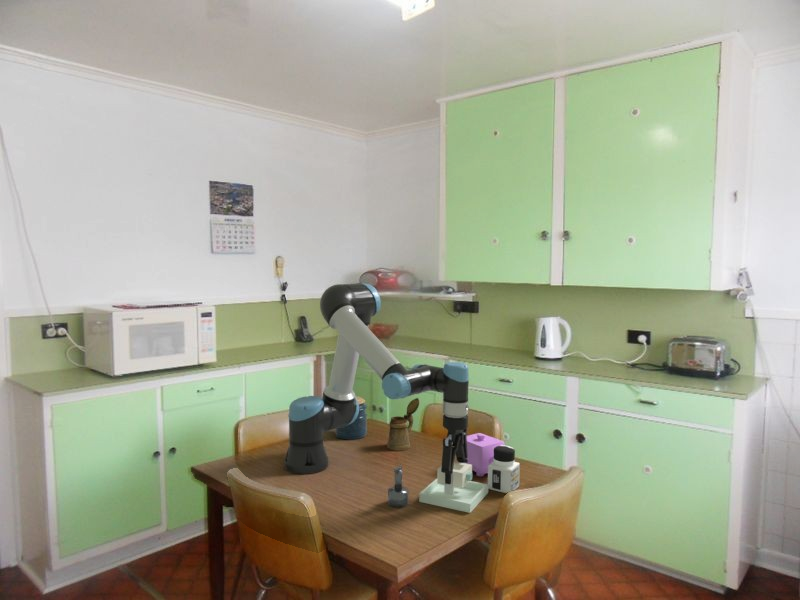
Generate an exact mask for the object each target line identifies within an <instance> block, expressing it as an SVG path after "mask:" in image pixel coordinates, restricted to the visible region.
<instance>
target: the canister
mask: <svg viewBox="0 0 800 600" xmlns="http://www.w3.org/2000/svg"><path fill="white" fill-rule="evenodd" d="M355 397H356V398H357V400H358V403H357V404H359V413H358V416H357V418H356V420H355V421H354V422H353V423H351V424H349V425H347V426H345V427H341V428H337V429H334V433H335V437H337V438H338V439H342V440H359V439H363V438H365V437H366V436H367V433H368V425H367V423H368V419H367V418H368V413H367V408H368V406H367V404H365V403H366V400H365V398H362V397H361V396H357V395H355Z"/></svg>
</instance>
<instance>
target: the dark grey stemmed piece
mask: <svg viewBox="0 0 800 600" xmlns="http://www.w3.org/2000/svg"><path fill="white" fill-rule="evenodd" d="M393 470H394V471H393V473H394V486H391V487H389V488H388V489H387V504H388V506H390V507H391V508H395V509H398V508H399V509H401V508H405V507H407V506H408V505H409V489H408V488H407V487H405V486H403V466H402V465H398V466H397V467H395V468H394V469H393Z"/></svg>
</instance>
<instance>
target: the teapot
mask: <svg viewBox="0 0 800 600" xmlns="http://www.w3.org/2000/svg"><path fill="white" fill-rule="evenodd" d="M501 445H505V441H503V440H501V439H498V438H496V437H492V436H490V435H487V434H484V433H481V432H478V433H477V432H476V433H473V434H469V435H467V455H468V457H467V460H468V462H467V463H466V464H471V465H472V472H475V473H476V475H475V476H477V477H482V478H483V477H484V476H485V475H486V474H488V465H489V464H491V463H492V462H493V461H494V448H495V447H497V446H501ZM465 459H466V458H465ZM464 463H465V462H464Z"/></svg>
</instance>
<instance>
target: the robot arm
mask: <svg viewBox="0 0 800 600" xmlns="http://www.w3.org/2000/svg"><path fill="white" fill-rule="evenodd" d="M381 302H382V301H381V296H380V294H379V293H378V290H377V288H375V287H374V286H373V285H372V284H369V283H361V282H358V283H345V284H342V283H340V284H338V283H337V284H333V285H331V286H330V287H327V288H326V289H325V290H324V292H323V293H322V295H321V297H320V301H319V308H320V310H319V311H320V312H321V315H322V317H323V320H324V321H325V322H326V323H327V325H328V326H329V327H330V328H331V329H333V330H337V331H338V335H337V341H336V347H335V350H334V356H333V361H332V367H331V372H330V377H329V382H328V383H329V384H328V385H327V386H326V387H324V389H323V391H322V392H323V393H322V396H318V395H308V396H302V397H298V398H296V399H294V400H293V401H292V402H291V403H290V405H289V409H288V411H289V412H288V433H289V434H288V436H289V437H288V443H289V444H288V448H287V451H286V455H285V458H284V461H283V463H284V465H283V466H284V467H283V468H284V470H286V471H287V472H289V473H291V474H300V475H306V474H307V475H308V474H309V475H310V474H313V473H314V474H315V473H319V472H322V471H324V470H326V469H327V468H328V467H329V457H328V454H327V450H326V447H325V445H324V433H326V432H330V431H333V430H335V429H337V428H341V427H345V426H347V425H349V424H351V423H353V422H354V421H355V420H356V418H357V416H358V413H359V404H357V403H358V400H357V398H356V397H355V396H356V393H355V391H354V389H353V388H354V383H355V378H356V374H357V368H358V363H359V359H360V358H359V357H361V358H362V360H364V362H366V364H367V365H368V366H369V367H370V368H371V369H372V370H373V371H374V373H375V374H376V375H377V376H378V377H379V378H380V380H381V389H382V390H383V394H384V396H386V397H387V398H388V399H390V400H399V399H400V400H401V399H405V398H408V397H410V396H411V397H412V396H414V395H419V394H422V393H426V392H437V393H440V394H441V393H442V397H443V398H442V413H443V415H442V426H443V428H444V429H446V430H447V434H446V438H444V437H443V439H442V456H441V458H442V459H441V465H442V467H441V472H443V473H445V480H444V493H446V494H451V495H453V494H454V472H453V467H454V461H455V459H456V462H460V463H464V462H465V463H467V462H468V460H467V457H468V455H467V436H468V435H467V434H468V433H467V432H468V427H469V416H468V413H469V408H470V407H471V406H470V404H469V382H470V377H469V373H470V372H469V366H468V365H467V364H466V363H464V362H460V361H459V362H457V361H449V362H446V363H444V365H443V367H441V366H440V367H439V366H433V365H428V364H426V363H424V364H421V363H418V364H415V365H414V366H413V367H412V368H411V369H407V368H406V367H405V366H404V365H403V364H402V362H400V360H398V359H397V357H395V356H394V355H393V353H392V352H391V351H390V350H389V349H388V348H387V347H386V345H384V344H383V342H382V341H381V340H380V339H379V338H378V337H377V336H376V335H375V334H374V333H373V331H371V329H370V328H369V326H370V325H371V322H372V317H374V316H376V315H377V314H379V312H380V310H381V306H382V305H381ZM465 458H466V459H465Z"/></svg>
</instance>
